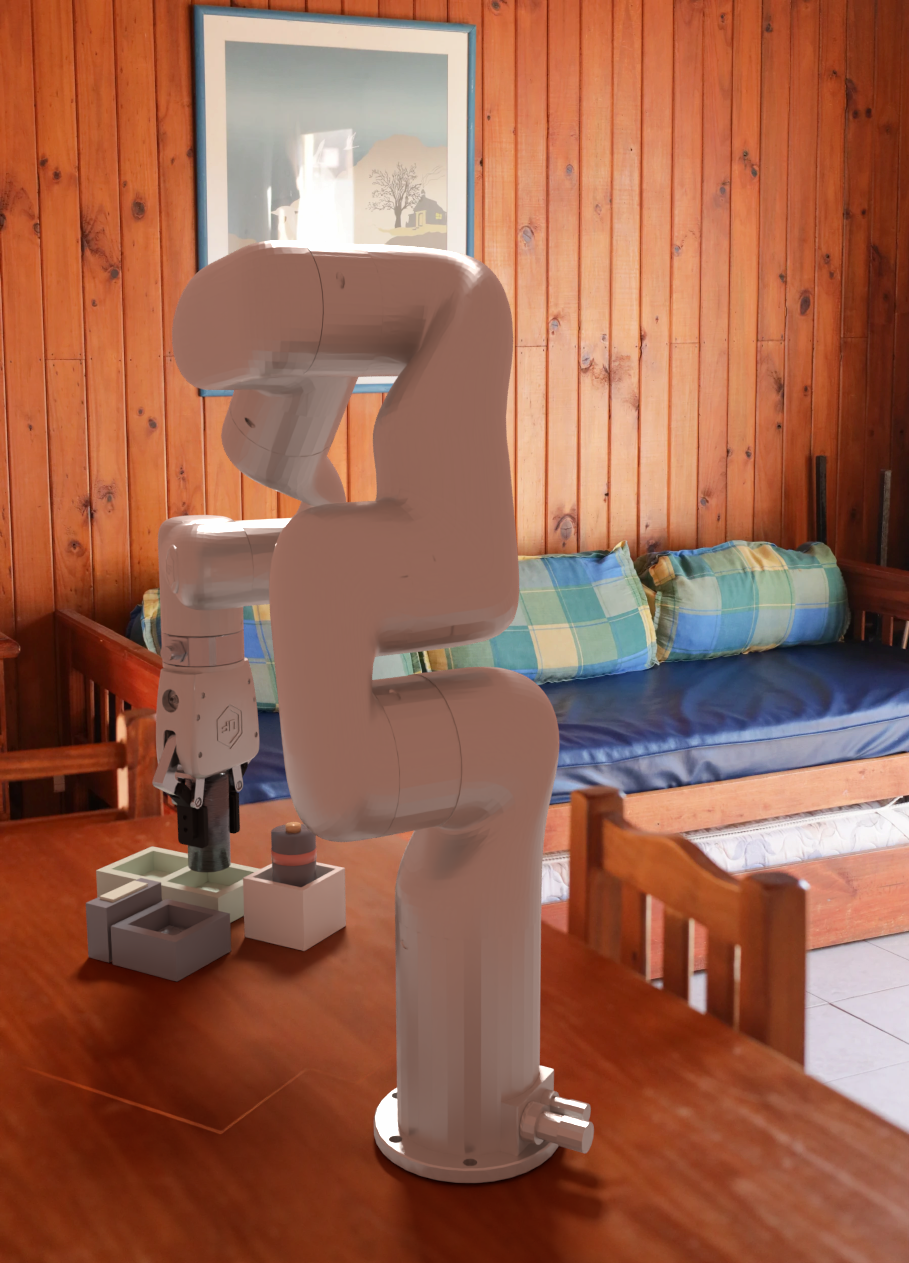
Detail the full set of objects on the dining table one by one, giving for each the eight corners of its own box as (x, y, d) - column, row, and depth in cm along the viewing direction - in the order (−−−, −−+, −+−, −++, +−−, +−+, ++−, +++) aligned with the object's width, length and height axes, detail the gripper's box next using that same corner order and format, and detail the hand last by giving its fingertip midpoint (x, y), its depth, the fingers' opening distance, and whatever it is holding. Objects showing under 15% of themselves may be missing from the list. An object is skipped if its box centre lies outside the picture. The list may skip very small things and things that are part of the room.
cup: (345, 925, 125) (344, 819, 123) (304, 951, 119) (301, 840, 118) (287, 912, 128) (285, 809, 126) (244, 936, 123) (241, 829, 121)
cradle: (231, 951, 119) (229, 894, 119) (177, 981, 113) (174, 922, 112) (144, 929, 124) (141, 875, 123) (87, 957, 118) (84, 900, 117)
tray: (271, 900, 131) (270, 871, 131) (219, 929, 124) (217, 898, 124) (153, 874, 138) (152, 846, 138) (97, 899, 132) (96, 870, 131)
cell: (239, 862, 130) (236, 766, 128) (212, 875, 127) (209, 776, 125) (206, 855, 132) (203, 760, 130) (179, 867, 128) (176, 770, 127)
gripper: (174, 670, 116) (182, 872, 120) (289, 638, 131) (293, 819, 134) (109, 661, 120) (118, 858, 123) (228, 631, 134) (233, 808, 138)
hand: (209, 836), depth 129 cm, fingers closed on cell, 4 cm apart
